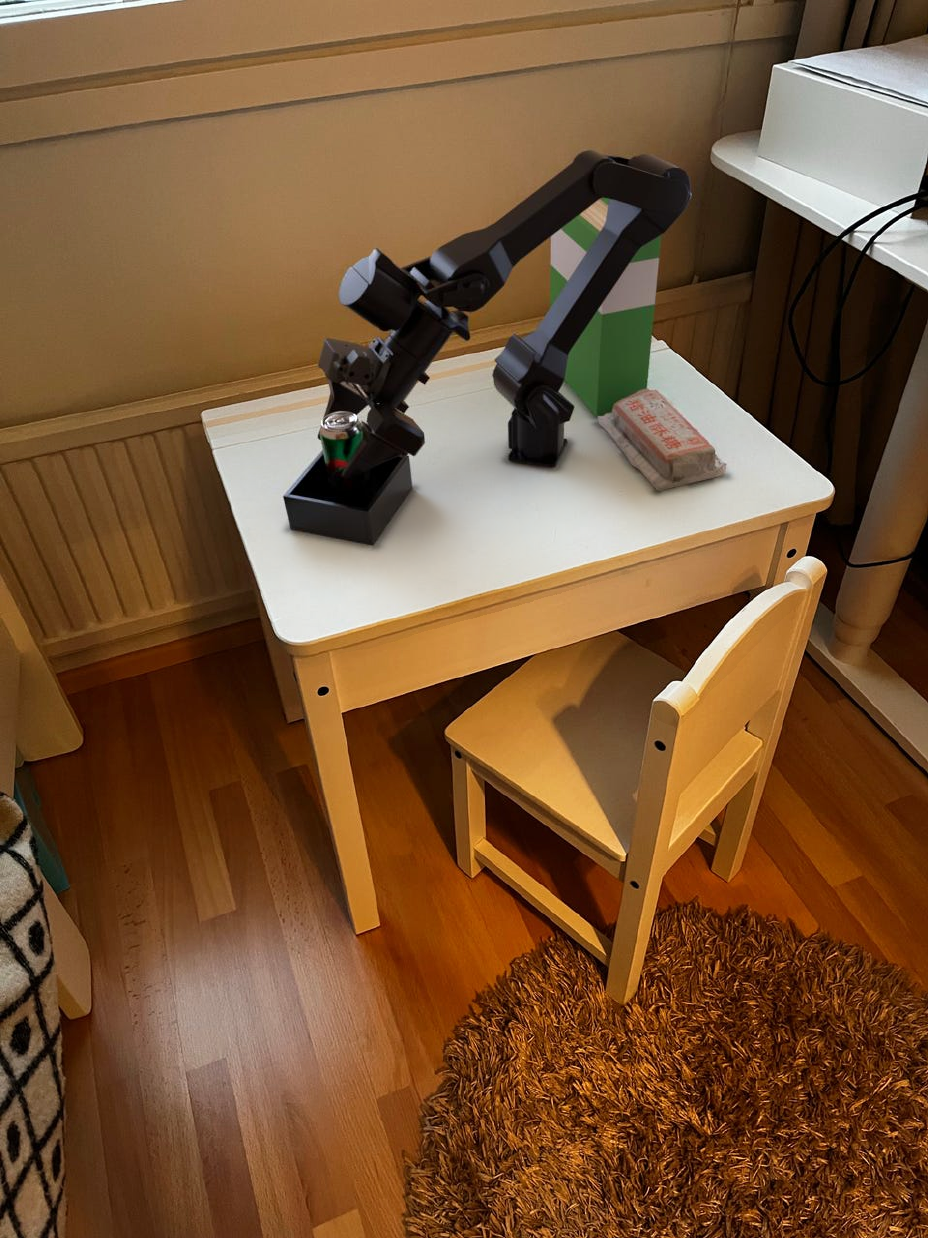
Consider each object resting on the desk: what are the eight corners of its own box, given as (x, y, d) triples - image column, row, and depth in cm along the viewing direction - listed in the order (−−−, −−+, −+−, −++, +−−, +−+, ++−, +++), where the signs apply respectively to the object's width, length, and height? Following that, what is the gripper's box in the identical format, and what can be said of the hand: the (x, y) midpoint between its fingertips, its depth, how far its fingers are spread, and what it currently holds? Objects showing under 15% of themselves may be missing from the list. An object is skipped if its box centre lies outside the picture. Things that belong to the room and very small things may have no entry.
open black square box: (412, 488, 117) (409, 455, 113) (373, 546, 109) (368, 512, 105) (334, 474, 120) (328, 442, 117) (290, 529, 112) (282, 496, 108)
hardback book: (549, 362, 139) (551, 197, 123) (594, 352, 141) (602, 189, 124) (596, 417, 127) (605, 243, 110) (645, 407, 128) (661, 233, 112)
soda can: (379, 510, 113) (367, 425, 105) (340, 521, 112) (324, 436, 103) (366, 488, 116) (353, 405, 108) (328, 499, 115) (312, 415, 107)
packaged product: (733, 443, 112) (659, 461, 110) (727, 476, 115) (656, 494, 113) (665, 377, 124) (597, 391, 123) (661, 408, 128) (596, 423, 126)
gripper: (328, 282, 105) (255, 393, 109) (386, 348, 92) (301, 470, 97) (399, 331, 112) (328, 432, 117) (461, 398, 100) (379, 509, 104)
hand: (332, 458), depth 109 cm, fingers open, 9 cm apart
